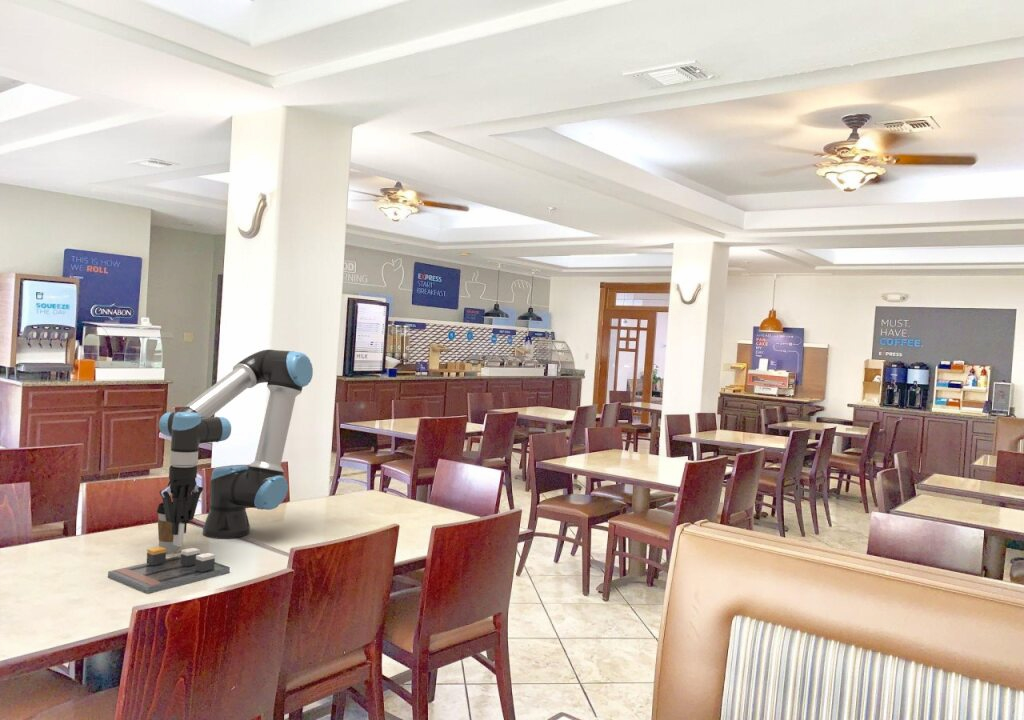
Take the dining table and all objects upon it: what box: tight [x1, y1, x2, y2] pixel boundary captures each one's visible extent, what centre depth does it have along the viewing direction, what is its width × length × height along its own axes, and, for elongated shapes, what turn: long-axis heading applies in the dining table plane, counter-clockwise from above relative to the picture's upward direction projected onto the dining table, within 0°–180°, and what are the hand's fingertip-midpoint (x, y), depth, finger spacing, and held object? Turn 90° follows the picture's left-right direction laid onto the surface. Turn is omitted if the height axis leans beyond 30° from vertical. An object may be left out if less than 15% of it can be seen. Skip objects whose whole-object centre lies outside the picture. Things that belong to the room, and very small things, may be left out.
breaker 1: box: [180, 547, 201, 566], centre depth 220 cm, size 4×3×4 cm
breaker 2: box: [195, 552, 216, 572], centre depth 216 cm, size 4×3×4 cm
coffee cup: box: [156, 501, 181, 555], centre depth 237 cm, size 8×8×15 cm
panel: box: [107, 555, 231, 595], centre depth 215 cm, size 25×19×2 cm
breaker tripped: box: [146, 546, 167, 565], centre depth 219 cm, size 4×3×4 cm
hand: (178, 545), depth 224 cm, fingers closed
